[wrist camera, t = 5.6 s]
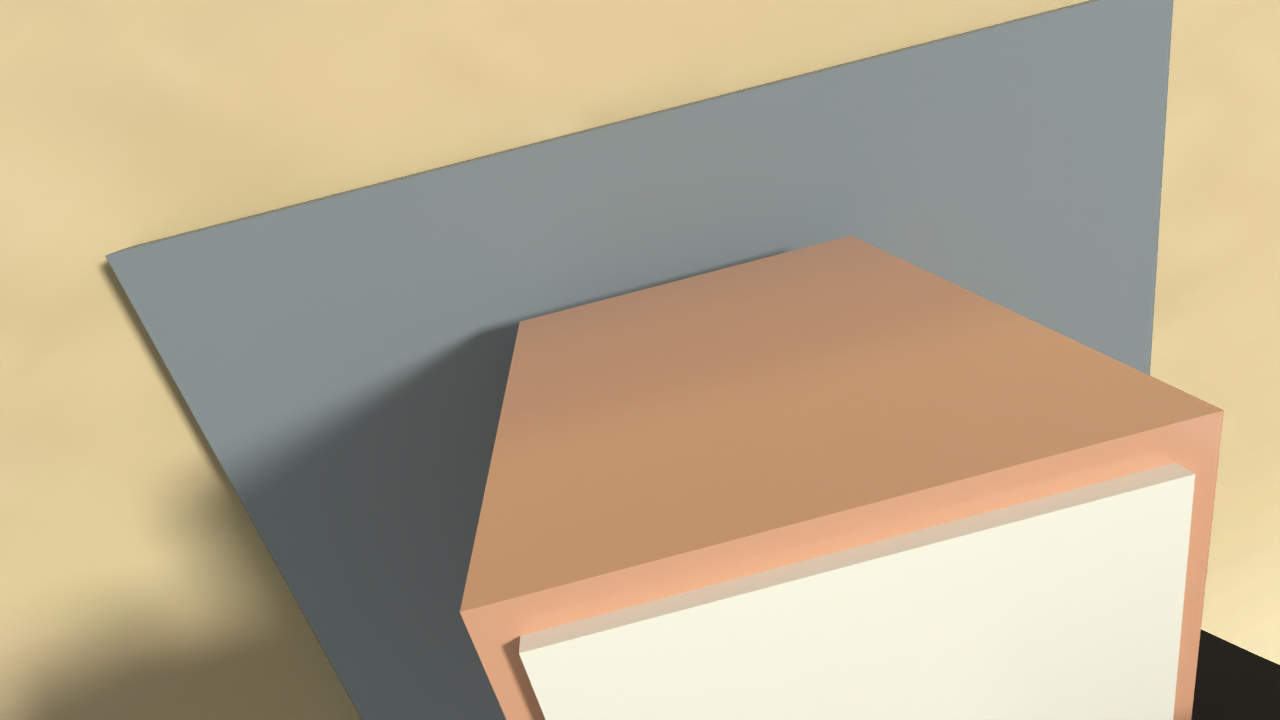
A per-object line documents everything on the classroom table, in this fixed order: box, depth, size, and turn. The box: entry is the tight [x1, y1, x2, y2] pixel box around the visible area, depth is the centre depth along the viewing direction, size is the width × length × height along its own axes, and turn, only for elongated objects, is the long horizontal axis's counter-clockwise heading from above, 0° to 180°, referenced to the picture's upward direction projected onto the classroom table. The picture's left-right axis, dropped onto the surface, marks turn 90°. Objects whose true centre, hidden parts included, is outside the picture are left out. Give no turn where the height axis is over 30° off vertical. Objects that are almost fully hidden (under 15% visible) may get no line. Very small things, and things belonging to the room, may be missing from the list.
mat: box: [105, 0, 1173, 720], centre depth 13 cm, size 16×14×1 cm
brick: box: [460, 236, 1224, 720], centre depth 9 cm, size 9×5×6 cm, turn 13°
